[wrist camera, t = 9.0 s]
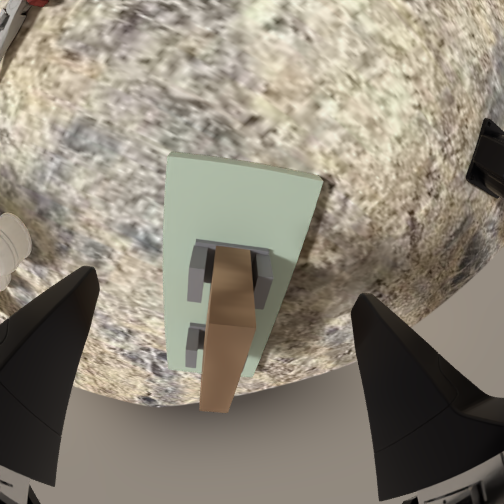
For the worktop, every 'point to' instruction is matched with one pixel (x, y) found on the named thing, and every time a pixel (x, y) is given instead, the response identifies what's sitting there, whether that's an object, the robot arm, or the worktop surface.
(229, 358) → the brown wooden block
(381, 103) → the worktop surface
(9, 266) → the container set
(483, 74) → the worktop surface
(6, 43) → the pliers
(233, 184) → the hinge base
